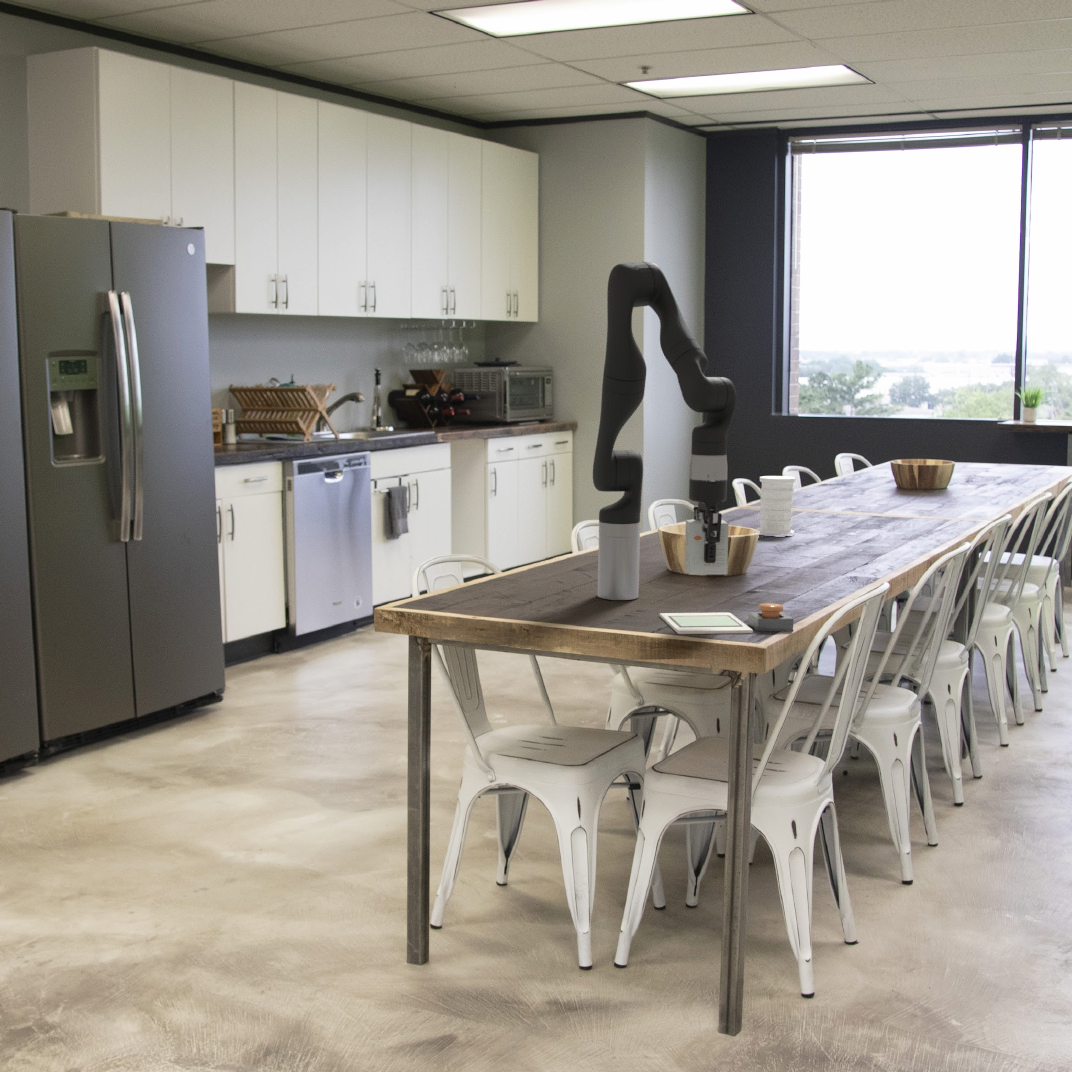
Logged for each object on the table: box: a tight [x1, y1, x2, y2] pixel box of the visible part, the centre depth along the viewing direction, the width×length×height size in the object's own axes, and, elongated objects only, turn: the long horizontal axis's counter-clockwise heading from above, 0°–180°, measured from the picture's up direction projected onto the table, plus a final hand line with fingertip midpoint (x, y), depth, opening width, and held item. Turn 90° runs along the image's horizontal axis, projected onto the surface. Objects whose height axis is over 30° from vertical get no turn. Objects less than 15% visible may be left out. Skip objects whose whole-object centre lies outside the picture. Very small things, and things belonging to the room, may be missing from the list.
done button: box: [758, 602, 784, 618], centre depth 256 cm, size 5×5×3 cm
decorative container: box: [757, 475, 796, 535], centre depth 396 cm, size 12×12×18 cm
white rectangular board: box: [659, 612, 754, 635], centre depth 259 cm, size 18×15×1 cm
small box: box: [684, 519, 729, 575], centre depth 257 cm, size 8×6×10 cm
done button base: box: [747, 611, 794, 632], centre depth 257 cm, size 7×7×2 cm
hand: (705, 559), depth 258 cm, fingers closed on small box, 5 cm apart
